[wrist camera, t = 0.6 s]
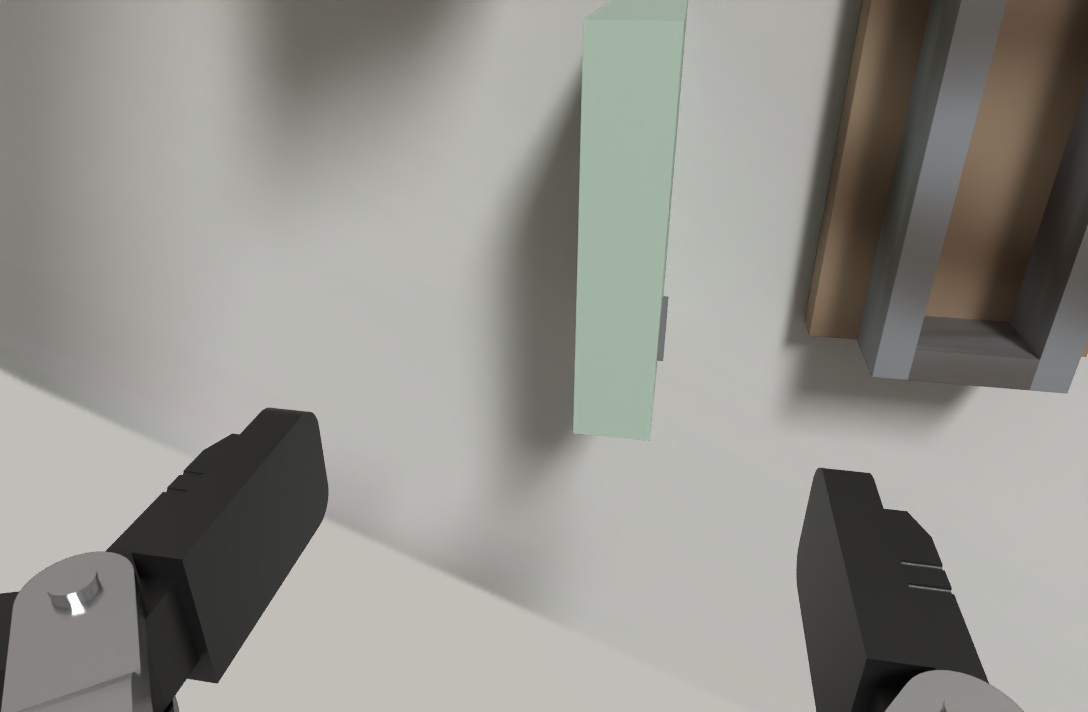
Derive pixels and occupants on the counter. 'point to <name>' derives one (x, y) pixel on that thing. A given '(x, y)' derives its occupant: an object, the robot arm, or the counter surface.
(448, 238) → the counter surface
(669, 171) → the door panel
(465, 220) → the counter surface
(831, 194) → the door track
